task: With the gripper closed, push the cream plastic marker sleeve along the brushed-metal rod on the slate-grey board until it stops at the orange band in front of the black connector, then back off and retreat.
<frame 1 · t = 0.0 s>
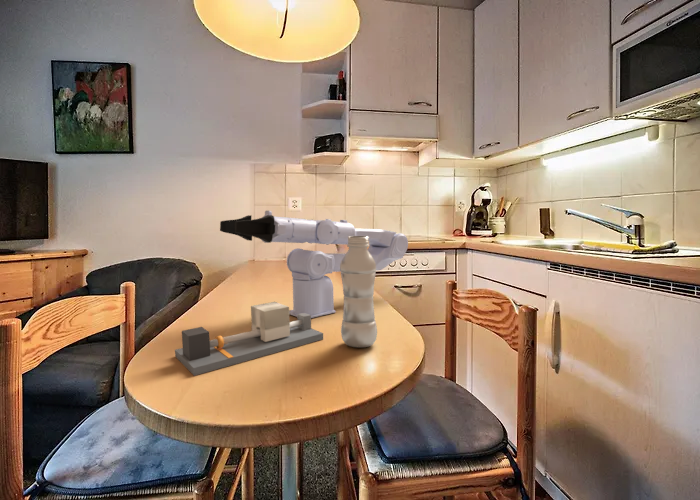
hand: (227, 226, 74), 22 cm above the table, tool horizontal, fingers open, 7 cm apart
sleeve: (270, 320, 68), point 4 cm above the table, slide at 0.0 cm
rail board: (253, 347, 66), on the table
plastic bottle: (359, 346, 67), on the table
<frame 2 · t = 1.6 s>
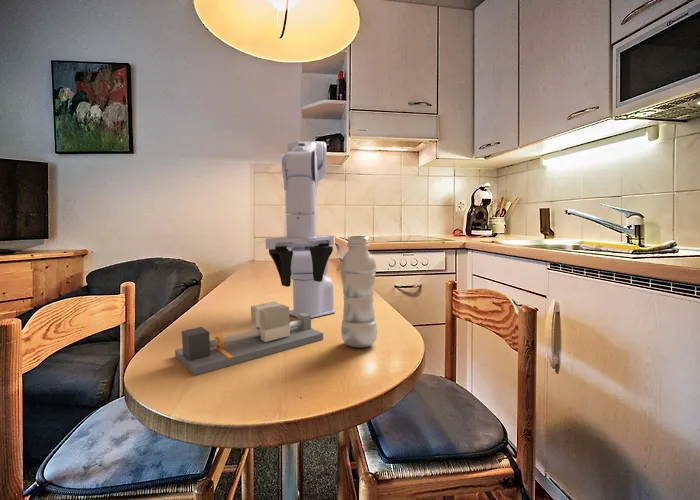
hand: (302, 283, 72), 10 cm above the table, tool pointing down, fingers open, 7 cm apart
nothing on the table moved.
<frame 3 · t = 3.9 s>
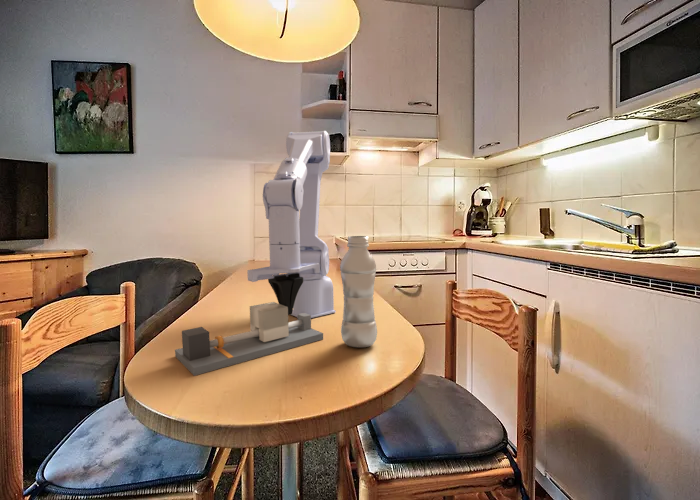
hand: (286, 313, 70), 5 cm above the table, tool pointing down, fingers closed
sleeve: (269, 321, 68), point 4 cm above the table, slide at 0.3 cm, touching gripper
everything else where it was.
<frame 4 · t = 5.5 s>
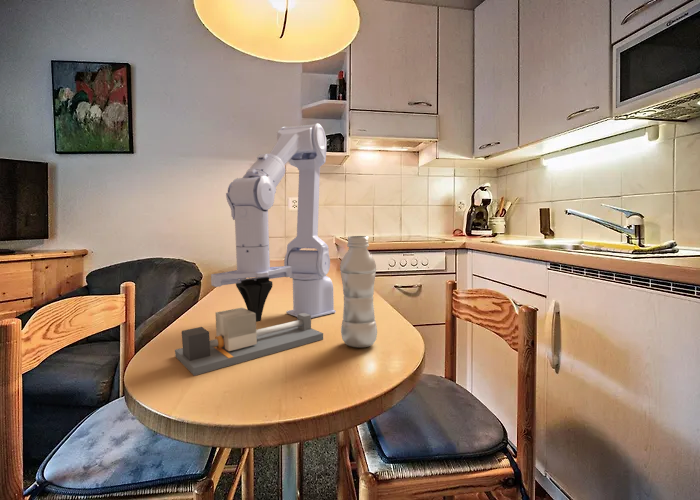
hand: (255, 320, 66), 5 cm above the table, tool pointing down, fingers closed
sleeve: (236, 328, 64), point 4 cm above the table, slide at 6.7 cm, touching gripper
everything else where it was.
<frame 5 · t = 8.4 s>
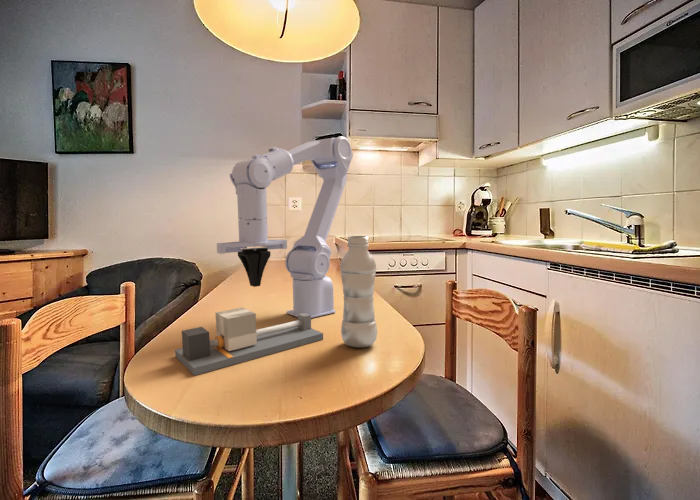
hand: (255, 285, 75), 9 cm above the table, tool pointing down, fingers closed
sleeve: (236, 328, 64), point 4 cm above the table, slide at 6.7 cm
everything else where it was.
at the end: sleeve slide at 6.7 cm; the gripper is holding nothing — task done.
